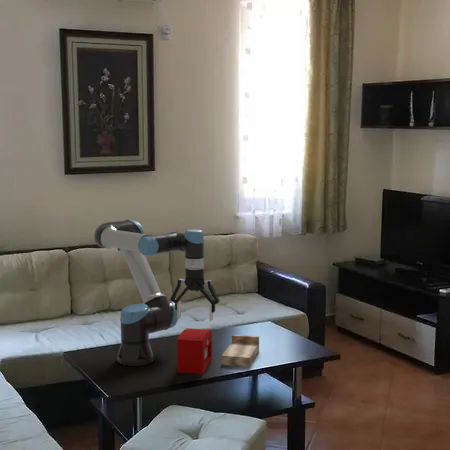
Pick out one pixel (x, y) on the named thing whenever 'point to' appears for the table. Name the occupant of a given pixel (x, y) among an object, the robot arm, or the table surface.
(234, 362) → the wooden toy bed
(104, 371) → the table surface
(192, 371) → the fire alarm
